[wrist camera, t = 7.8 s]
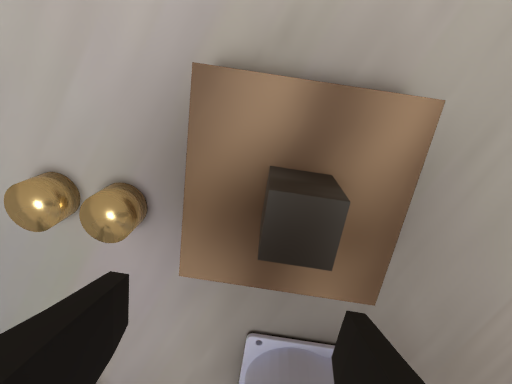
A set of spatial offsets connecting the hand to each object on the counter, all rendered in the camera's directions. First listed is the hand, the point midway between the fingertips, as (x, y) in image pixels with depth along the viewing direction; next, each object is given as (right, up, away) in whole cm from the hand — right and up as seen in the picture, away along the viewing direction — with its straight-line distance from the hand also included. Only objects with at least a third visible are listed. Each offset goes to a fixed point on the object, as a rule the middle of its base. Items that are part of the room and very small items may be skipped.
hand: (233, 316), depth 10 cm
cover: (+3, +5, +9) cm, 11 cm away
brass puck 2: (-8, +3, +10) cm, 14 cm away
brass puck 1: (-13, +4, +10) cm, 17 cm away
